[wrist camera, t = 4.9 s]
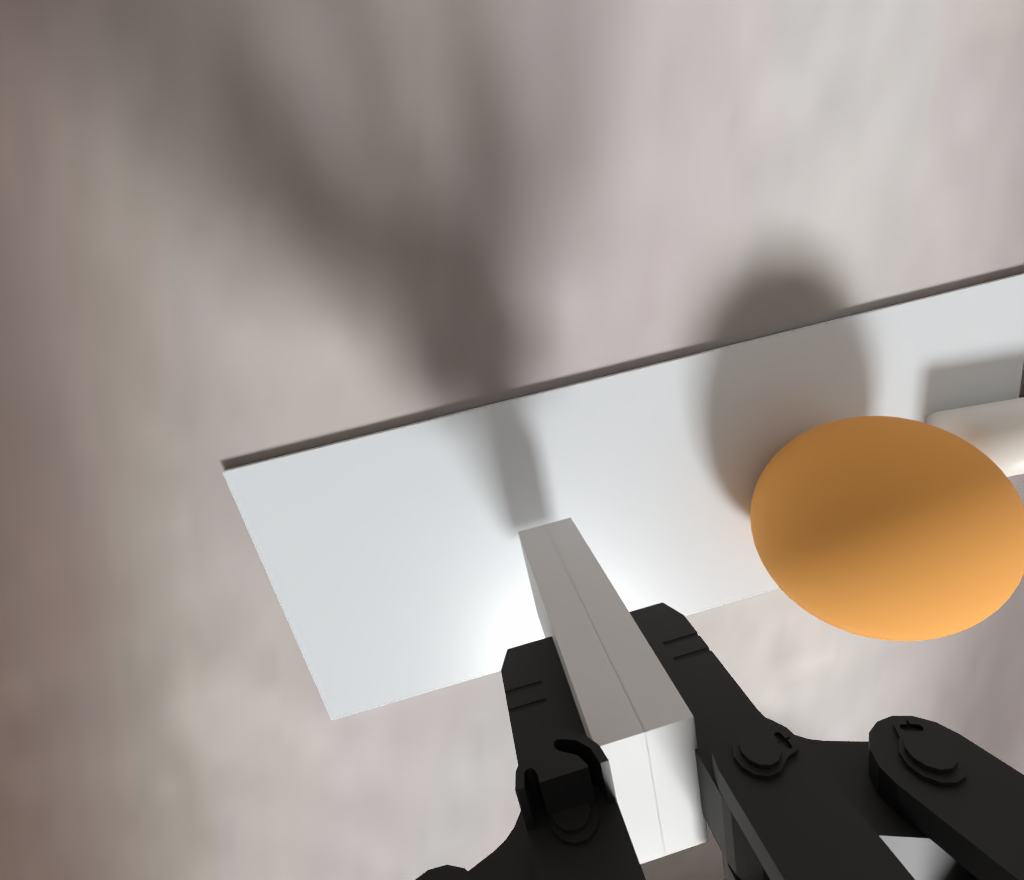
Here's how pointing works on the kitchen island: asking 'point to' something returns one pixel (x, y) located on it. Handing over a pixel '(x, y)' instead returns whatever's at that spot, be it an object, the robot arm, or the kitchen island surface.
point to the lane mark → (586, 488)
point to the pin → (989, 430)
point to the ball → (889, 528)
